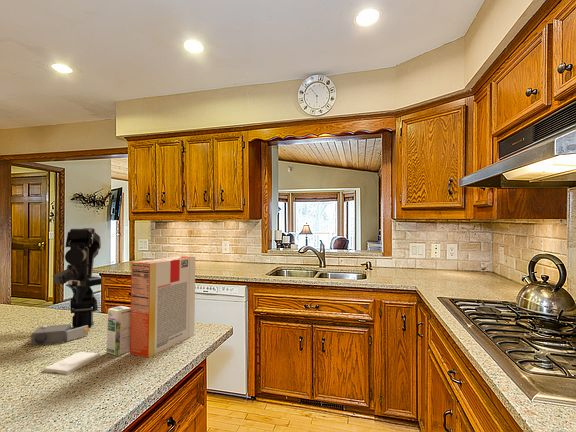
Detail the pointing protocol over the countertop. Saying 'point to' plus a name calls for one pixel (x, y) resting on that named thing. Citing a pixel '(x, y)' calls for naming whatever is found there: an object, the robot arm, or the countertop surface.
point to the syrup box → (118, 330)
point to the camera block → (49, 334)
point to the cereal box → (161, 303)
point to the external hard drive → (72, 362)
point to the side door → (76, 333)
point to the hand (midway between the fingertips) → (78, 302)
